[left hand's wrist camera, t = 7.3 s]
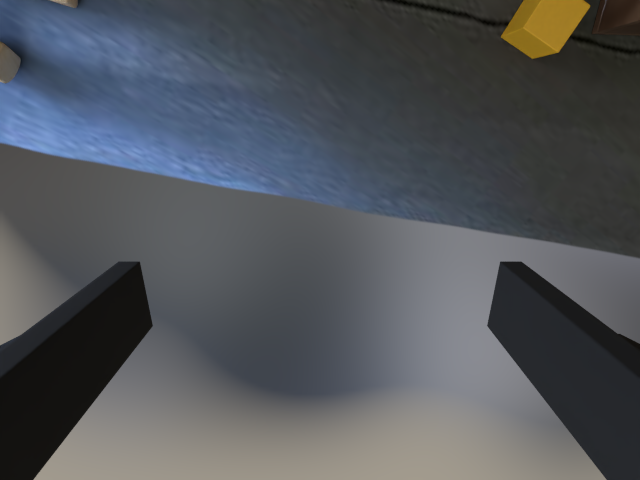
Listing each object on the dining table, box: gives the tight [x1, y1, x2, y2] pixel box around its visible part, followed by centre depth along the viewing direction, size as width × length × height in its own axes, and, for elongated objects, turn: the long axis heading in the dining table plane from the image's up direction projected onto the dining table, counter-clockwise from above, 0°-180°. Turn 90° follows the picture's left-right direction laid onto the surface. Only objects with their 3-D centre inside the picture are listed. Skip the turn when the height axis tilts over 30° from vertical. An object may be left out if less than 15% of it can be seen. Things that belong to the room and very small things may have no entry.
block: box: [501, 0, 590, 59], centre depth 32 cm, size 4×4×4 cm
